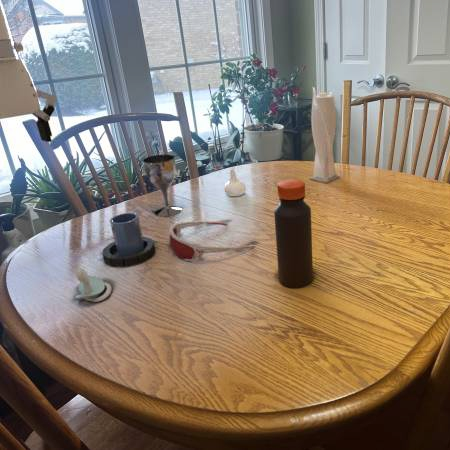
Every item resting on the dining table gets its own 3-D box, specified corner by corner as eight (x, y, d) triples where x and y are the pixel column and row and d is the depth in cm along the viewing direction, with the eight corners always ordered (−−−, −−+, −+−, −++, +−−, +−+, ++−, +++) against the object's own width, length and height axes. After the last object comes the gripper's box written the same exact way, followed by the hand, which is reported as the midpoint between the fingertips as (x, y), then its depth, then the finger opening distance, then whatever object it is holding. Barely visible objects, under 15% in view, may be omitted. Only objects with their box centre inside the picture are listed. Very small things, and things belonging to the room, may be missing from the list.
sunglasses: (159, 240, 104) (159, 220, 102) (225, 233, 113) (226, 215, 111) (183, 271, 90) (184, 249, 89) (256, 260, 99) (258, 239, 98)
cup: (128, 263, 95) (119, 226, 91) (113, 256, 98) (104, 219, 94) (151, 252, 99) (143, 216, 95) (136, 246, 102) (128, 210, 98)
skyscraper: (306, 178, 141) (302, 88, 129) (321, 172, 147) (319, 85, 135) (326, 183, 136) (325, 90, 124) (341, 176, 142) (341, 86, 130)
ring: (122, 272, 91) (120, 264, 91) (94, 258, 97) (92, 250, 97) (164, 251, 99) (163, 243, 98) (136, 239, 105) (135, 232, 104)
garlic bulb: (248, 190, 133) (246, 164, 130) (243, 197, 128) (240, 171, 124) (228, 189, 134) (225, 164, 131) (222, 197, 129) (219, 171, 125)
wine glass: (148, 211, 121) (137, 159, 115) (174, 203, 126) (165, 152, 119) (161, 219, 116) (150, 165, 109) (188, 211, 120) (179, 158, 114)
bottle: (316, 285, 84) (313, 188, 75) (281, 291, 83) (275, 192, 74) (308, 268, 90) (305, 176, 82) (276, 272, 89) (269, 179, 80)
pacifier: (113, 283, 88) (81, 288, 86) (107, 255, 85) (74, 260, 84) (110, 303, 82) (75, 308, 80) (104, 274, 79) (67, 279, 78)
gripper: (33, 48, 86) (57, 135, 93) (-75, 55, 74) (-37, 154, 81) (50, 48, 81) (74, 139, 89) (-61, 56, 69) (-23, 160, 77)
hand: (21, 146), depth 85 cm, fingers open, 9 cm apart
